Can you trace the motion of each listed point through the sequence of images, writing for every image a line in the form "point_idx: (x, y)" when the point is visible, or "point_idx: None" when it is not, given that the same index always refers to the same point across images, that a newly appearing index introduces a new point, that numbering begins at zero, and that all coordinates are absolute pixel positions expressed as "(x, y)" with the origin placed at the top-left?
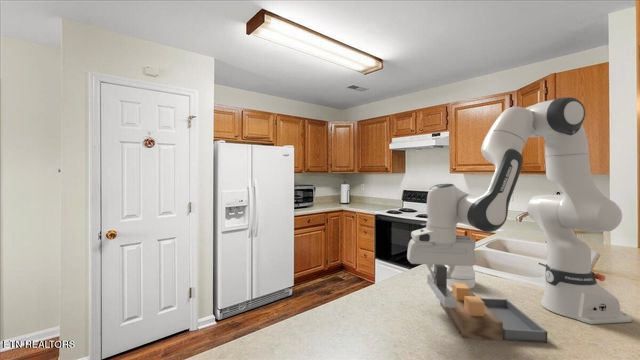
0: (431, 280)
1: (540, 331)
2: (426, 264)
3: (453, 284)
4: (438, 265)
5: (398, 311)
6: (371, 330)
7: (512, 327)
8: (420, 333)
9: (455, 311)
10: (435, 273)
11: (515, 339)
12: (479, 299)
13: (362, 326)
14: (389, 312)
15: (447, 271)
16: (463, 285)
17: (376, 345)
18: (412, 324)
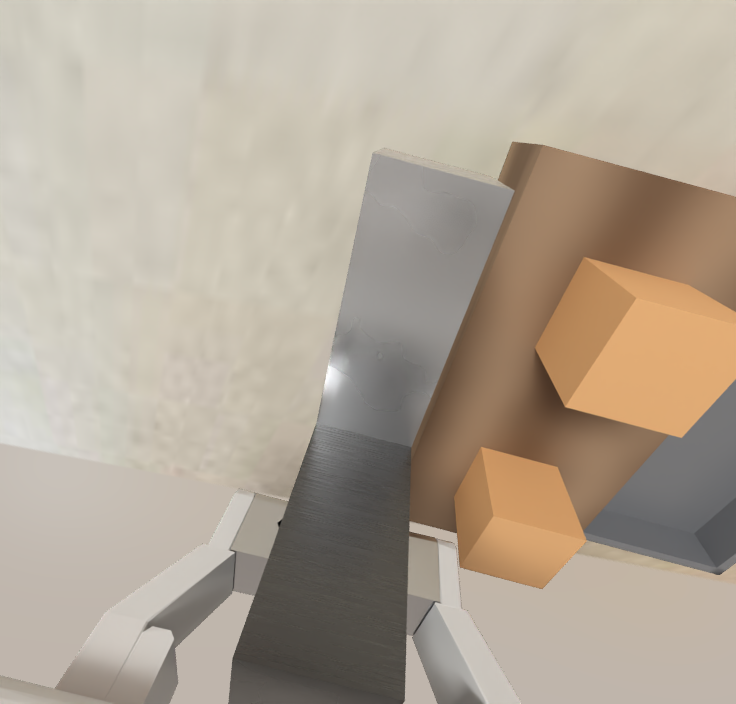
0: (332, 349)
1: (696, 566)
2: (90, 636)
3: (615, 328)
4: (288, 692)
5: (177, 202)
6: (47, 350)
7: (674, 461)
8: (241, 402)
9: (416, 445)
10: (255, 593)
11: None
12: (553, 563)
13: (4, 316)
14: (122, 206)
15: (436, 617)
16: (698, 374)
17: (76, 427)
18: (226, 340)
